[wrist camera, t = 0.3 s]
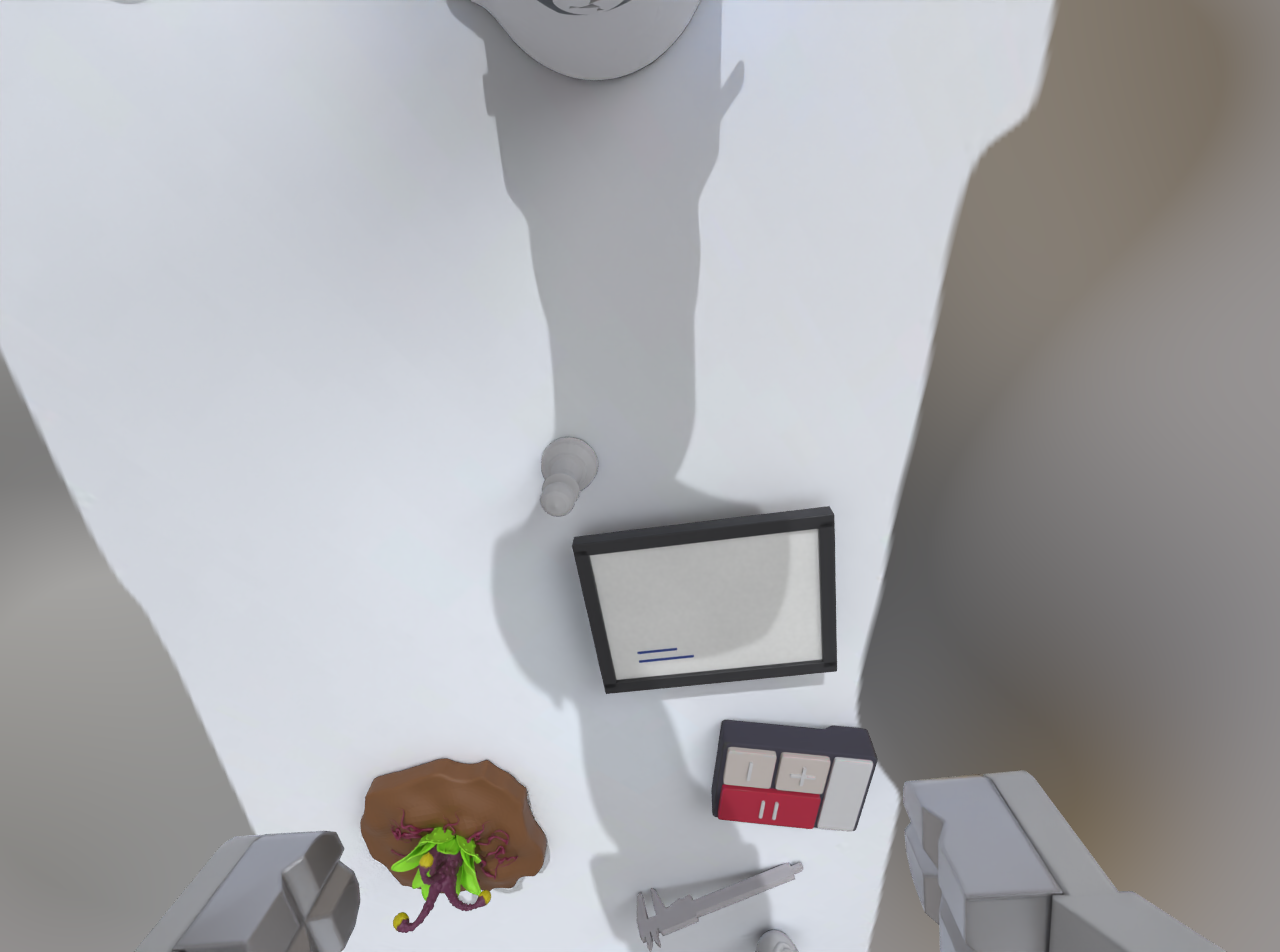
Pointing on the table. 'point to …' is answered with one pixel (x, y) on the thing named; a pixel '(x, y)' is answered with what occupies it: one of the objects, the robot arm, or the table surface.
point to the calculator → (792, 775)
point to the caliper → (705, 903)
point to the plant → (452, 831)
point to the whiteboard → (712, 600)
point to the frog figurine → (775, 942)
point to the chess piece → (566, 474)
